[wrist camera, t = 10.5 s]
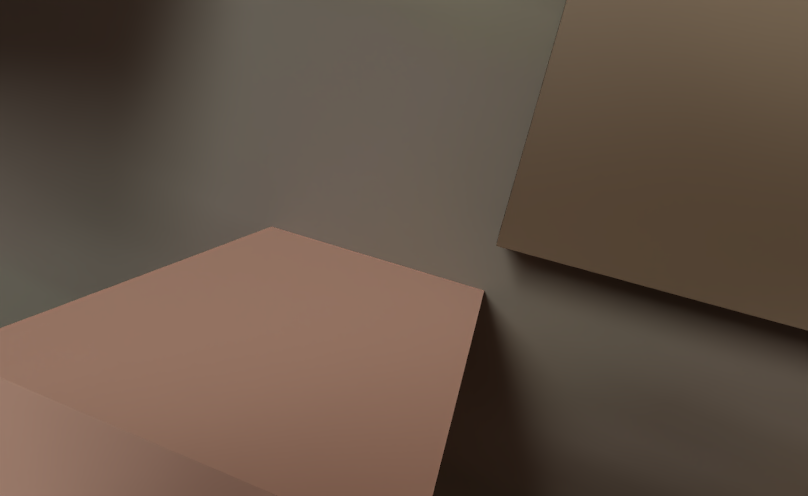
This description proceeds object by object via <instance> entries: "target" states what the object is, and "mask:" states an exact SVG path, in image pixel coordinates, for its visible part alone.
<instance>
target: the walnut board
mask: <svg viewBox="0 0 808 496" xmlns="http://www.w3.org/2000/svg"><path fill="white" fill-rule="evenodd" d="M496 246H499V247H503V248H506V249H510V250H514V251H517V252H521V253H525V254H528V255H532V256H536V257H539V258H543V259H547V260H550V261H554V262H558V263H561V264H565V265H569V266H572V267H576V268H580V269H583V270H587V271H591V272H594V273H598V274H602V275H605V276H609V277H613V278H616V279H620V280H624V281H627V282H631V283H635V284H638V285H642V286H646V287H649V288H653V289H657V290H660V291H664V292H668V293H671V294H675V295H679V296H682V297H686V298H690V299H694V300H697V301H701V302H705V303H708V304H712V305H716V306H719V307H723V308H727V309H730V310H734V311H738V312H741V313H745V314H749V315H752V316H756V317H760V318H763V319H767V320H771V321H774V322H778V323H782V324H785V325H789V326H793V327H796V328H800V329H804V330H807V331H808V0H566V4H565V7H564V11H563V14H562V17H561V21H560V24H559V28H558V31H557V35H556V38H555V42H554V45H553V49H552V52H551V56H550V59H549V63H548V66H547V70H546V73H545V76H544V80H543V83H542V87H541V90H540V94H539V97H538V101H537V104H536V108H535V111H534V115H533V118H532V122H531V125H530V129H529V132H528V135H527V139H526V142H525V146H524V149H523V153H522V156H521V160H520V163H519V167H518V170H517V174H516V177H515V181H514V184H513V188H512V191H511V195H510V198H509V201H508V205H507V208H506V212H505V215H504V219H503V222H502V226H501V229H500V233H499V237H498V241H497V245H496Z"/></svg>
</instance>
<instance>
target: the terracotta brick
mask: <svg viewBox="0 0 808 496" xmlns="http://www.w3.org/2000/svg"><path fill="white" fill-rule="evenodd" d="M483 293H484V290H481V289H477V288H474V287H471V286H467V285H464V284H461V283H457V282H454V281H451V280H447V279H444V278H441V277H437V276H434V275H431V274H427V273H424V272H421V271H417V270H414V269H411V268H407V267H404V266H401V265H397V264H394V263H391V262H387V261H384V260H381V259H377V258H374V257H371V256H367V255H364V254H361V253H357V252H354V251H351V250H347V249H344V248H341V247H337V246H334V245H331V244H327V243H324V242H321V241H317V240H314V239H311V238H308V237H304V236H301V235H298V234H294V233H291V232H288V231H284V230H281V229H278V228H274V227H269V228H266V229H264V230H261V231H258V232H256V233H253V234H250V235H248V236H245V237H242V238H240V239H237V240H234V241H232V242H229V243H226V244H224V245H221V246H218V247H216V248H213V249H210V250H208V251H205V252H202V253H200V254H197V255H194V256H192V257H189V258H186V259H184V260H181V261H178V262H176V263H173V264H170V265H168V266H165V267H162V268H160V269H157V270H154V271H152V272H149V273H146V274H144V275H141V276H138V277H136V278H133V279H130V280H128V281H125V282H122V283H120V284H117V285H114V286H112V287H109V288H106V289H104V290H101V291H98V292H96V293H93V294H90V295H88V296H85V297H82V298H80V299H77V300H74V301H72V302H69V303H66V304H64V305H61V306H58V307H56V308H53V309H50V310H48V311H45V312H42V313H40V314H37V315H34V316H32V317H29V318H26V319H24V320H21V321H18V322H16V323H13V324H10V325H8V326H5V327H2V328H0V496H433V492H434V488H435V484H436V480H437V476H438V472H439V468H440V464H441V460H442V456H443V452H444V448H445V444H446V440H447V436H448V432H449V429H450V425H451V421H452V417H453V413H454V409H455V405H456V401H457V397H458V393H459V389H460V385H461V381H462V377H463V373H464V369H465V365H466V361H467V357H468V353H469V349H470V345H471V341H472V337H473V333H474V329H475V325H476V321H477V317H478V313H479V309H480V305H481V301H482V297H483Z"/></svg>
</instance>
